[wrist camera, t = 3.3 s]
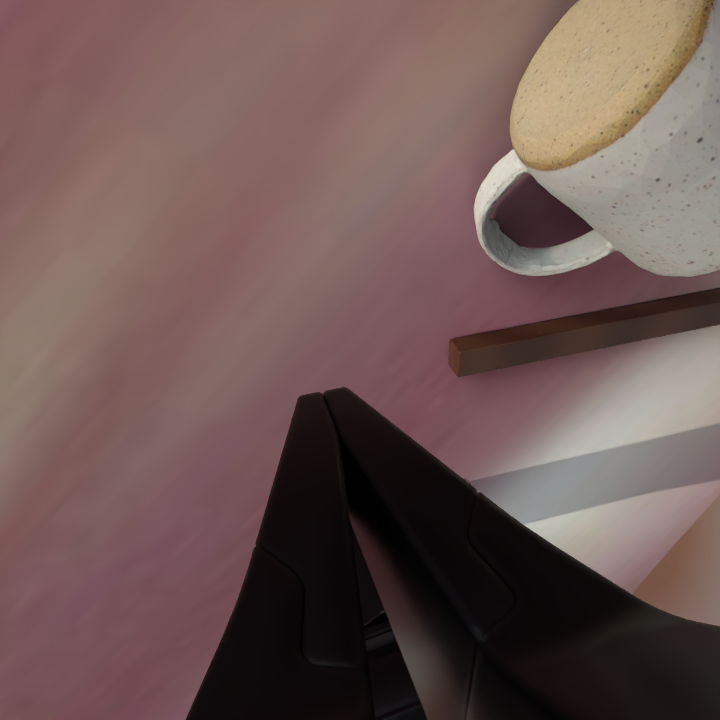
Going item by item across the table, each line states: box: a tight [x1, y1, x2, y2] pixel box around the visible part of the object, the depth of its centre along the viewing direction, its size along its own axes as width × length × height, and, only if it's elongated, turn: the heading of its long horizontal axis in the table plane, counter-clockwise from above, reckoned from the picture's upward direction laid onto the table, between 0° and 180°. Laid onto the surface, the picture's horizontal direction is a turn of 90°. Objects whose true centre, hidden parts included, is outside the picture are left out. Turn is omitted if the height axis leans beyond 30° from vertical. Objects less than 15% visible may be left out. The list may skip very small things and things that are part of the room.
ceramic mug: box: [474, 0, 720, 277], centre depth 19 cm, size 11×8×8 cm
